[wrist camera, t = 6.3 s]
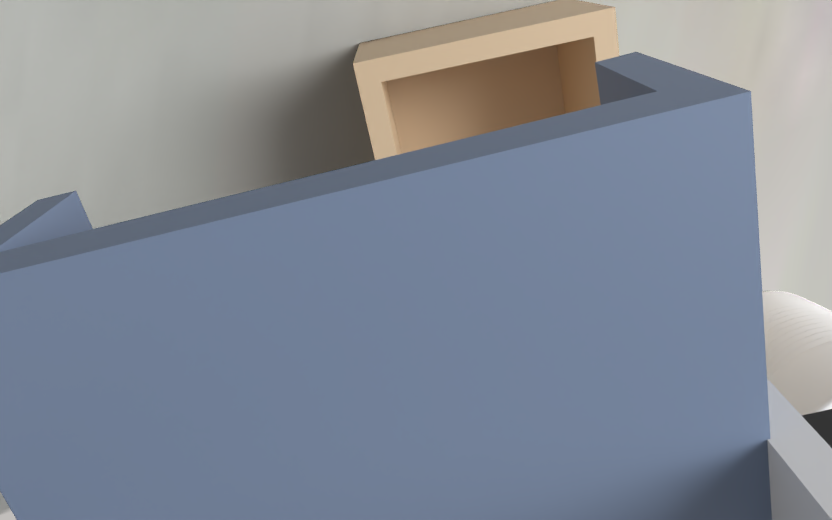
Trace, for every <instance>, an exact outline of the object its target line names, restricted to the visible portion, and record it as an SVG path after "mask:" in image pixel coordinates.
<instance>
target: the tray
mask: <svg viewBox="0 0 832 520" xmlns="http://www.w3.org/2000/svg"><path fill="white" fill-rule="evenodd" d="M618 56H619V45H618V34H617V23H616V12H615V7H611V6H606V5H600V4H595V3H589V2H584V1H578V0H557V1H552V2H547V3H543V4H538V5H533V6H529V7H524V8H520V9H515V10H510V11H506V12H501V13H496V14H492V15H487V16H483V17H478V18H473V19H469V20H464V21H459V22H455V23H450V24H446V25H441V26H436V27H432V28H427V29H423V30H418V31H413V32H409V33H404V34H399V35H395V36H390V37H386V38H381V39H376V40H372V41H367V42H362V43H359V47H358V50H357V53H356V56H355V59H354V62H353V66H354V71H355V75H356V79H357V84H358V88H359V92H360V97H361V101H362V105H363V110H364V114H365V118H366V123H367V127H368V131H369V136H370V140H371V144H372V149H373V153H374V157H375V160H378V159H382V158H386V157H390V156H395V155H399V154H403V153H407V152H411V151H415V150H419V149H423V148H427V147H431V146H435V145H440V144H444V143H448V142H452V141H456V140H460V139H464V138H468V137H472V136H476V135H480V134H485V133H489V132H493V131H497V130H501V129H505V128H509V127H513V126H517V125H521V124H526V123H530V122H534V121H538V120H542V119H546V118H550V117H554V116H558V115H562V114H566V113H571V112H575V111H579V110H583V109H587V108H591V107H595V106H599V105H601V104H600V97H599V90H598V82H597V75H596V68H595V62H598V61H602V60H606V59H610V58H614V57H618Z"/></svg>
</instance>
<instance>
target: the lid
mask: <svg viewBox="0 0 832 520" xmlns="http://www.w3.org/2000/svg"><path fill="white" fill-rule="evenodd" d="M595 68H596V75H597V82H598V90H599V97H600V104H601V105H599V106H595V107H591V108H587V109H583V110H579V111H575V112H571V113H566V114H562V115H558V116H554V117H550V118H546V119H542V120H538V121H534V122H530V123H526V124H521V125H517V126H513V127H509V128H505V129H501V130H497V131H493V132H489V133H485V134H480V135H476V136H472V137H468V138H464V139H460V140H456V141H452V142H448V143H444V144H440V145H435V146H431V147H427V148H423V149H419V150H415V151H411V152H407V153H403V154H399V155H395V156H390V157H386V158H382V159H378V160H374V161H370V162H366V163H362V164H358V165H354V166H350V167H345V168H341V169H337V170H333V171H329V172H325V173H321V174H317V175H313V176H309V177H304V178H300V179H296V180H292V181H288V182H284V183H280V184H276V185H272V186H268V187H264V188H259V189H255V190H251V191H247V192H243V193H239V194H235V195H231V196H227V197H223V198H219V199H214V200H210V201H206V202H202V203H198V204H194V205H190V206H186V207H182V208H178V209H174V210H169V211H165V212H161V213H157V214H153V215H149V216H145V217H141V218H137V219H133V220H129V221H124V222H120V223H116V224H112V225H108V226H104V227H100V228H96V229H93V228H92V226H91V224H90V222H89V219H88V217H87V215H86V212H85V210H84V208H83V206H82V203H81V201H80V199H79V197H78V194H77V192H76V191H73V192H69V193H65V194H61V195H57V196H52V197H48V198H44V199H40V200H37V201H36V202H34V203H33V204H31V205H30V206H28V207H27V208H25V209H24V210H22V211H21V212H19V213H18V214H16V215H15V216H13V217H12V218H10V219H9V220H8V221H6V222H5V223H3V224H2V225H0V492H1V493H2V495H3V497H4V498H5V500H6V502H7V504H8V505H9V507H10V509H11V511H12V512H13V514H14V516H15V517H16V519H17V520H772V511H771V494H770V477H769V460H768V443H767V440H768V439H770V422H769V404H768V386H767V369H766V351H765V333H764V316H763V298H762V280H761V263H760V245H759V228H758V210H757V192H756V175H755V157H754V139H753V122H752V104H751V91H748V90H745V89H743V88H740V87H737V86H734V85H731V84H728V83H725V82H722V81H719V80H716V79H714V78H711V77H708V76H705V75H702V74H699V73H696V72H693V71H690V70H687V69H685V68H682V67H679V66H676V65H673V64H670V63H667V62H664V61H661V60H658V59H656V58H653V57H650V56H647V55H644V54H641V53H638V52H634V53H630V54H626V55H622V56H618V57H614V58H610V59H606V60H602V61H598V62H595Z"/></svg>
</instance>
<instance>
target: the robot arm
mask: <svg viewBox="0 0 832 520" xmlns="http://www.w3.org/2000/svg"><path fill="white" fill-rule="evenodd" d="M767 386H768V404H769V422H770V439H768V440H767V443H768V460H769V477H770V494H771V511H772V520H832V409H829V410H824V411H820V412H815V413H811V414H806V415H801V414H800V413H799V412H798V411H797V410H796V409H795V408H794V407H793V406H792V405H791V404H790V402H789V401H788V400H787V399H786V398H785V397H784V396H783V395H782V394H781V393H780V392H779V391H778V389H777V388H776V387H775V386H774V385H773V384H772V383H771V382H770V381H769V380H768V379H767Z"/></svg>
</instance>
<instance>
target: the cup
mask: <svg viewBox="0 0 832 520" xmlns="http://www.w3.org/2000/svg"><path fill="white" fill-rule="evenodd" d="M762 298H763V316H764V333H765V351H766V369H767V379H768V380H769V381H770V382H771V383H772V384H773V385H774V386H775V387H776V388H777V389H778V391H779V392H780V393H781V394H782V395H783V396H784V397H785V398H786V399H787V400H788V401H789V402H790V404H791V405H792V406H793V407H794V408H795V409H796V410H797V411H798V412H799V413H800V414H801V415H806V414H811V413H815V412H820V411H824V410H829V409H832V311H830V310H828V309H826V308H825V307H822V306H820V305H818V304H816V303H814V302H812V301H810V300H807V299H805V298H803V297H801V296H798V295H796V294H793V293H790V292H784V291H765V292H762Z"/></svg>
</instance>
